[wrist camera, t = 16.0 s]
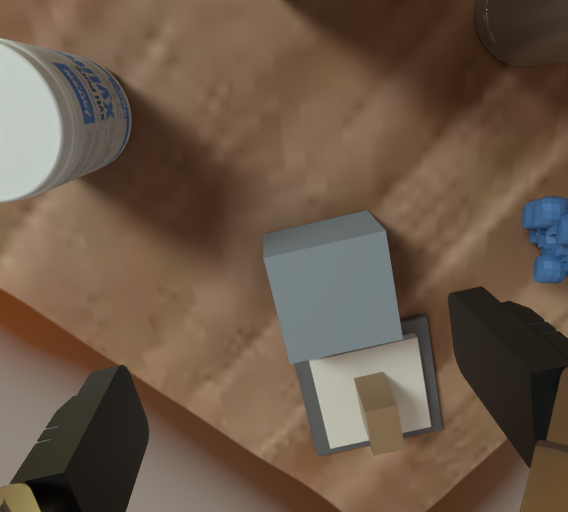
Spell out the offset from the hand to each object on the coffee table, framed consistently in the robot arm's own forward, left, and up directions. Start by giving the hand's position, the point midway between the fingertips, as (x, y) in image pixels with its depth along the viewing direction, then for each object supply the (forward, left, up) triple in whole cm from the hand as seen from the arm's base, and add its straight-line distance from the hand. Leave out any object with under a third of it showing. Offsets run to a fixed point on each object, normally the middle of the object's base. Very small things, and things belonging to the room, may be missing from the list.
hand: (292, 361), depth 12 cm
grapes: (-23, +12, -33) cm, 42 cm away
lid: (-5, +25, -32) cm, 41 cm away
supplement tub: (+15, -8, -33) cm, 37 cm away
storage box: (-3, +11, -33) cm, 35 cm away
